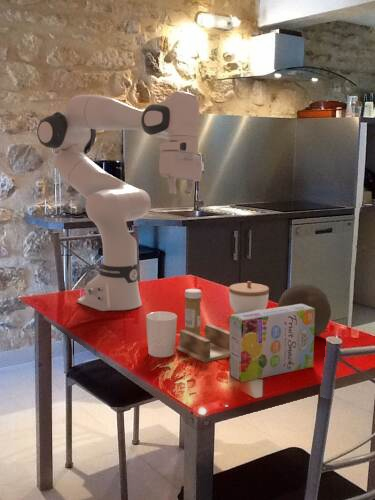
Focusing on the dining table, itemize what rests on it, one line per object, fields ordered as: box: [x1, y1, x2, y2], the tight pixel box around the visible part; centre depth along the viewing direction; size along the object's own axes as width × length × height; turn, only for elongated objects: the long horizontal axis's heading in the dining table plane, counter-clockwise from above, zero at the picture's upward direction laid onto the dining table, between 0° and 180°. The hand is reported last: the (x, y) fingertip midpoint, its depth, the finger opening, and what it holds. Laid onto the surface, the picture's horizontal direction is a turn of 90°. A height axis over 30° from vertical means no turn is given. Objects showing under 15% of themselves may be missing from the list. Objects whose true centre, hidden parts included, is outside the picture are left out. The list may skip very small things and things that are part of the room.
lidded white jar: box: [228, 280, 270, 314], centre depth 183 cm, size 13×13×11 cm
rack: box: [176, 323, 230, 363], centre depth 151 cm, size 12×11×5 cm
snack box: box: [228, 304, 315, 383], centre depth 137 cm, size 21×6×15 cm, turn 118°
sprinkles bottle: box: [184, 288, 202, 337], centre depth 162 cm, size 5×5×14 cm
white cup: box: [145, 311, 178, 358], centre depth 149 cm, size 8×8×10 cm
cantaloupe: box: [277, 284, 332, 338], centre depth 162 cm, size 14×14×15 cm
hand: (180, 194), depth 172 cm, fingers open, 8 cm apart
